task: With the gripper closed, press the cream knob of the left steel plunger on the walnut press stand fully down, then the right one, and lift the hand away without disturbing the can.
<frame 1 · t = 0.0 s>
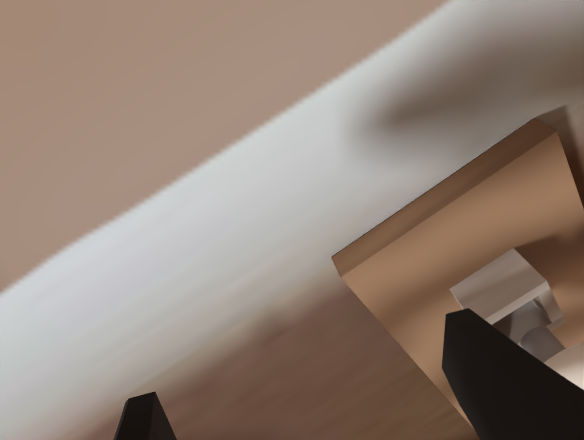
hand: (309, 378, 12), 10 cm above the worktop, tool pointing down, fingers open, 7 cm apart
press stand: (513, 331, 30), on the worktop
plunger b: (565, 373, 20), point 7 cm above the worktop, slide at 3.0 cm
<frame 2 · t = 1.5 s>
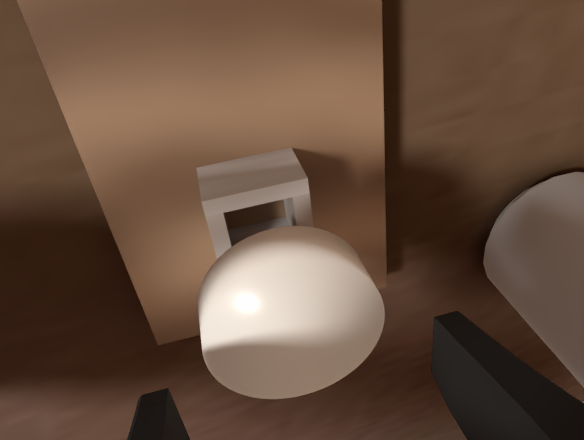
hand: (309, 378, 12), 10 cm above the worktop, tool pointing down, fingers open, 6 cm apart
press stand: (213, 17, 17), on the worktop
can: (537, 225, 26), on the worktop
plunger a: (280, 287, 15), point 7 cm above the worktop, slide at 3.0 cm
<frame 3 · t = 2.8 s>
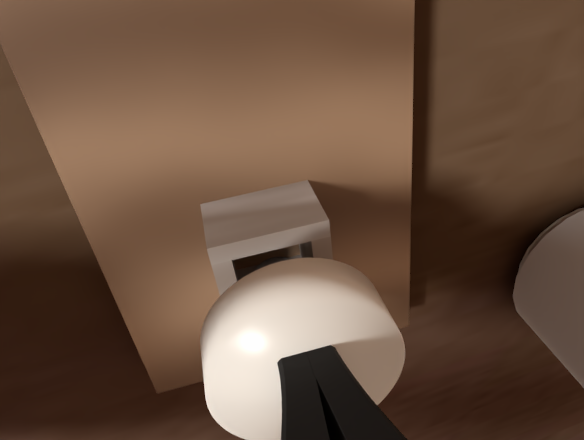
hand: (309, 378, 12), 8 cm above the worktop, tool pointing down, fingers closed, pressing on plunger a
press stand: (220, 34, 15), on the worktop
can: (570, 254, 24), on the worktop
plunger a: (290, 320, 14), point 6 cm above the worktop, slide at 1.8 cm, touching gripper
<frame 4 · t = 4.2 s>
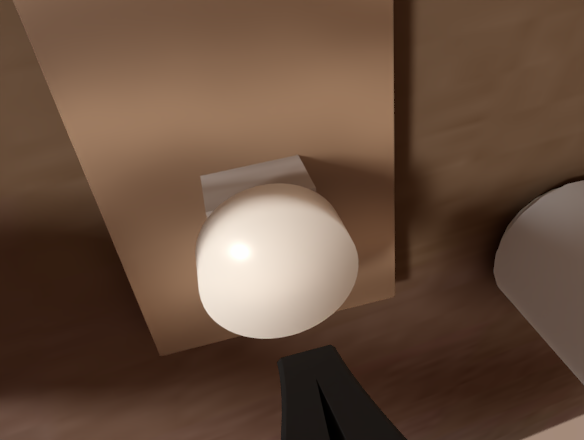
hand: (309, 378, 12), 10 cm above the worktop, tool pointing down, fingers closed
press stand: (218, 20, 16), on the worktop
can: (548, 233, 26), on the worktop
plunger a: (268, 241, 17), point 4 cm above the worktop, slide at -0.1 cm
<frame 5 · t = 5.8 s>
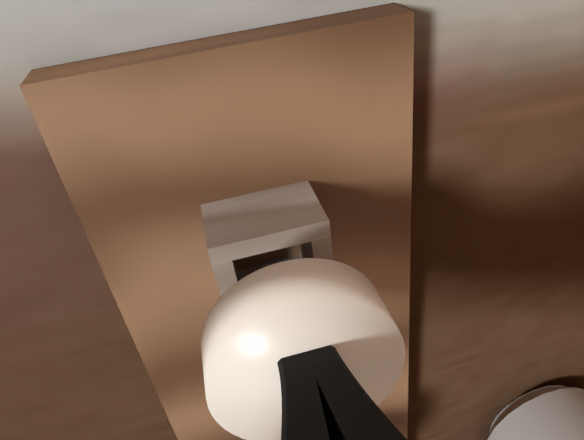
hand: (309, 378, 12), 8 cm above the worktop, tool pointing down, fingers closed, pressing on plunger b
press stand: (280, 333, 22), on the worktop
can: (530, 413, 31), on the worktop
plunger b: (290, 321, 14), point 6 cm above the worktop, slide at 1.8 cm, touching gripper
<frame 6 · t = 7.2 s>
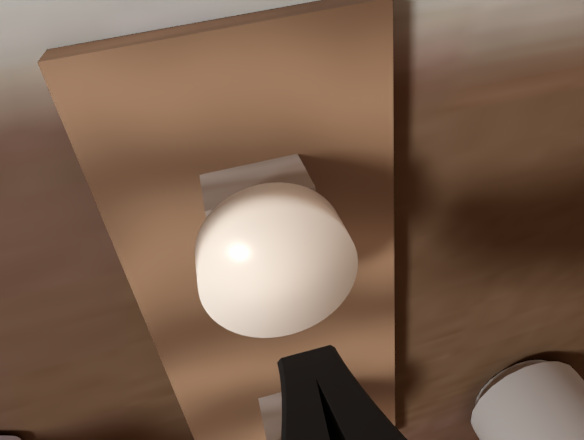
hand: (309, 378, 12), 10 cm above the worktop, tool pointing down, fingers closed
press stand: (273, 302, 24), on the worktop
can: (514, 388, 33), on the worktop
plunger b: (268, 240, 17), point 4 cm above the worktop, slide at -0.1 cm
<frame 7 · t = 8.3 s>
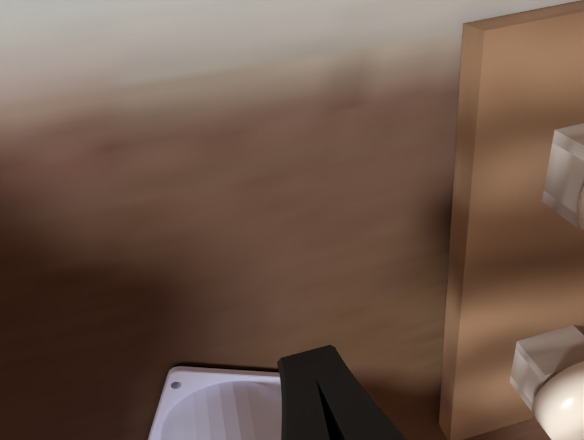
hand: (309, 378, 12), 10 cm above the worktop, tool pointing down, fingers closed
press stand: (540, 253, 27), on the worktop
plunger a: (567, 385, 27), point 4 cm above the worktop, slide at -0.1 cm
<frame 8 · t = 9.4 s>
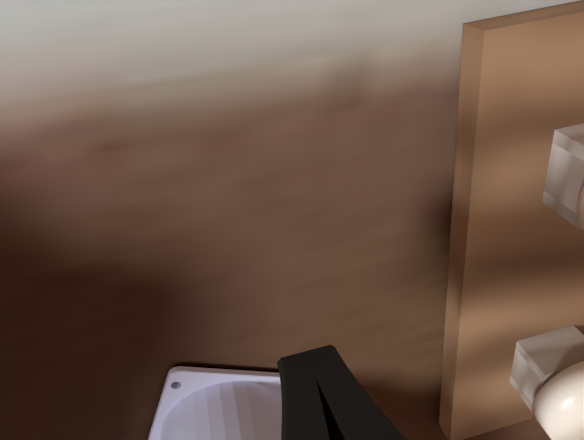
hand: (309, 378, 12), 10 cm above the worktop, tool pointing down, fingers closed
press stand: (540, 253, 27), on the worktop
plunger a: (567, 385, 27), point 4 cm above the worktop, slide at -0.1 cm
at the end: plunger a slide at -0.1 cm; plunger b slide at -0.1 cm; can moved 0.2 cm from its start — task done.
